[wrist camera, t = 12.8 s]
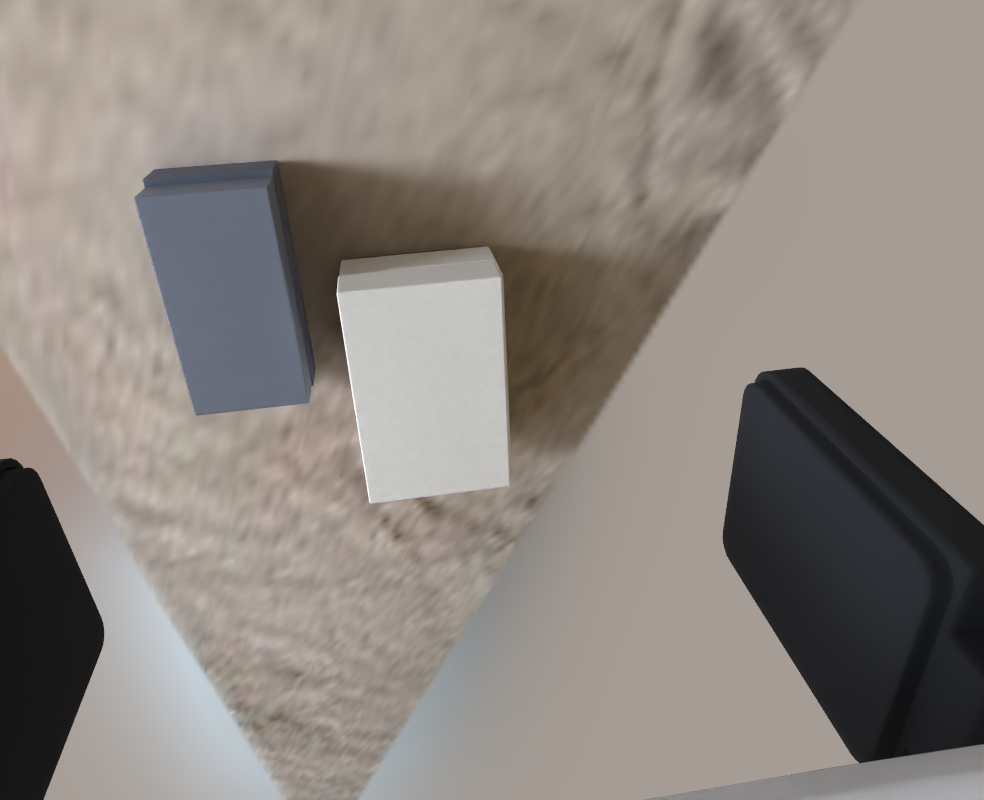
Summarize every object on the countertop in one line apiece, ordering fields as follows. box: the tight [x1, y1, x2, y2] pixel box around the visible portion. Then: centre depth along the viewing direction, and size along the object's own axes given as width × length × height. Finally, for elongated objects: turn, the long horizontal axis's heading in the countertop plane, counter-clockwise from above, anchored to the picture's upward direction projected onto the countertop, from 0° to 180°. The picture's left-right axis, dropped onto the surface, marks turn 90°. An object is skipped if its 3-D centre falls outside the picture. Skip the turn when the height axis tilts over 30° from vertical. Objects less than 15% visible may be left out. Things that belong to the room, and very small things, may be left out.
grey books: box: [134, 161, 315, 415], centre depth 35 cm, size 11×6×4 cm, turn 3°
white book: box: [337, 261, 510, 504], centre depth 35 cm, size 11×7×2 cm, turn 3°
